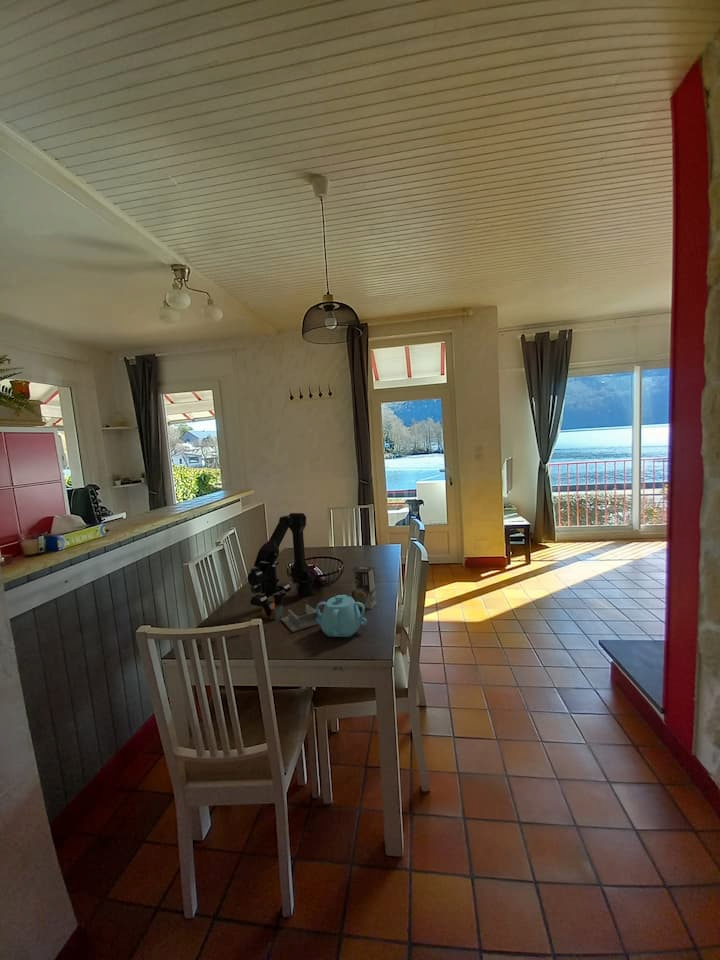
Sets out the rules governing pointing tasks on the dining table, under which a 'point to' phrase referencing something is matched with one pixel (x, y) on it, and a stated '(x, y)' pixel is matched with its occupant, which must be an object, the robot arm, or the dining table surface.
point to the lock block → (274, 611)
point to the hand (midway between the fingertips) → (273, 613)
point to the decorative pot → (340, 616)
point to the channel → (301, 619)
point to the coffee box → (363, 586)
